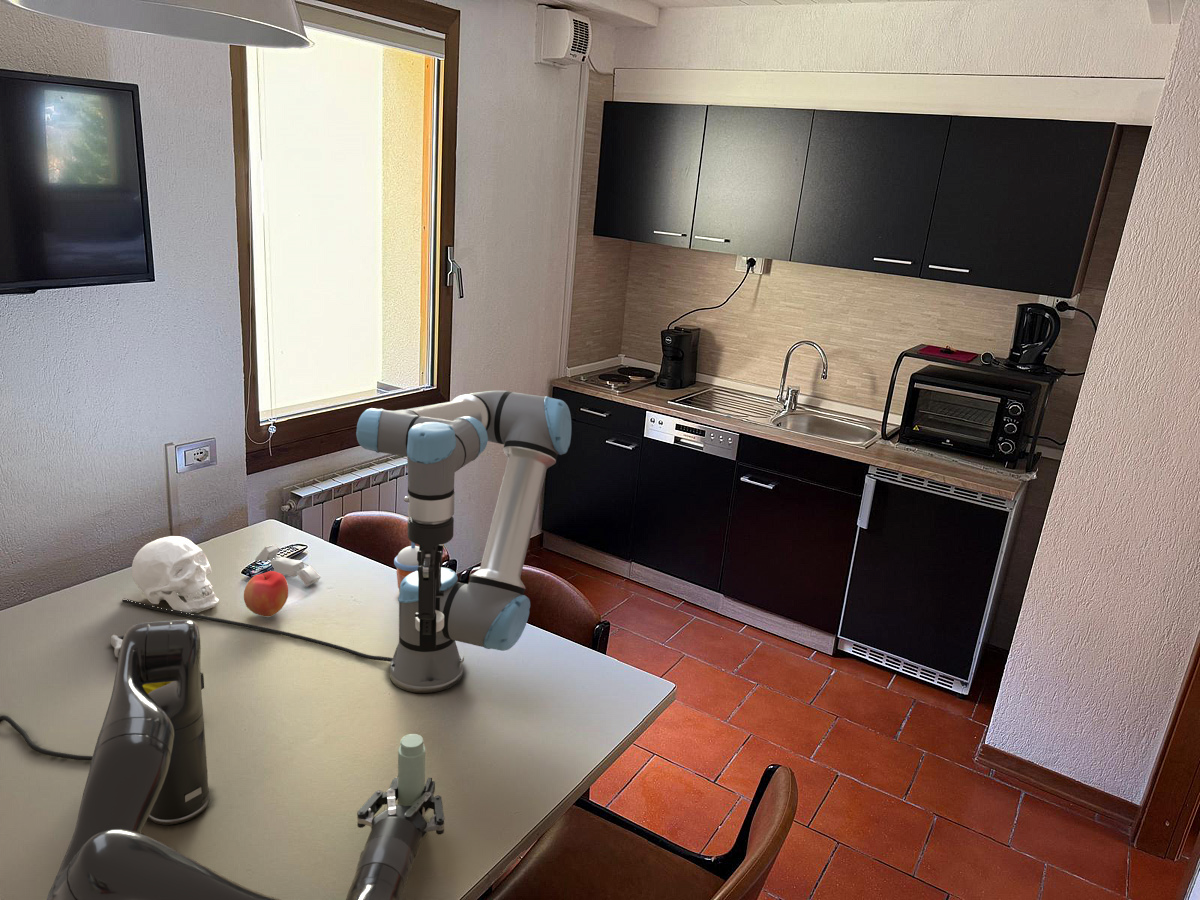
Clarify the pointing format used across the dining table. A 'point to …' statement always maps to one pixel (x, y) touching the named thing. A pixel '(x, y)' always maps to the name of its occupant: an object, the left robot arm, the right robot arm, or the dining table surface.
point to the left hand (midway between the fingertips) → (415, 781)
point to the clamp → (288, 565)
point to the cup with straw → (406, 562)
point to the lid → (438, 621)
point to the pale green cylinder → (411, 769)
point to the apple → (266, 593)
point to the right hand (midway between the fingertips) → (429, 639)
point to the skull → (174, 574)
